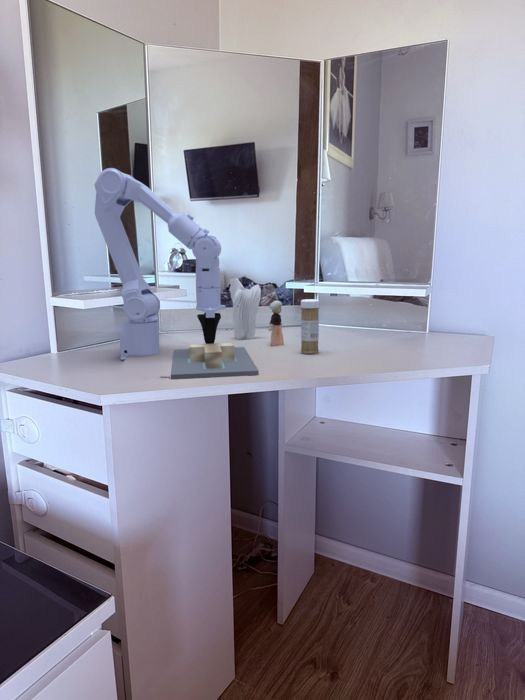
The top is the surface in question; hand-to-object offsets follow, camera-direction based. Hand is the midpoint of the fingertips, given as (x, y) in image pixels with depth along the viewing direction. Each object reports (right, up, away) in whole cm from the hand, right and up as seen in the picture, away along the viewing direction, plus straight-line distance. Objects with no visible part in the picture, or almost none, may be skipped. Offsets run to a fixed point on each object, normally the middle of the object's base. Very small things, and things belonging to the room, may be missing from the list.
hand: (209, 343), depth 118 cm
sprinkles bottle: (+25, -3, +4) cm, 25 cm away
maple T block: (+2, -5, -11) cm, 12 cm away
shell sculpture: (+8, +1, +22) cm, 23 cm away
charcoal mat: (+1, -5, -6) cm, 8 cm away
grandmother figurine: (+17, -1, +11) cm, 20 cm away
